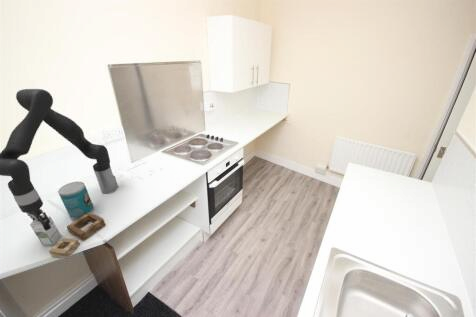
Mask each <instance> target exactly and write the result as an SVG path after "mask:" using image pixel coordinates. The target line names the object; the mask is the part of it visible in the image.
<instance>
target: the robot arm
mask: <svg viewBox="0 0 476 317" xmlns="http://www.w3.org/2000/svg"><path fill="white" fill-rule="evenodd" d="M15 98H16V101H17V103H18V104H19V106H21V108H23V109H24V110H26V111H27V113H26V115H25V117H24V118H23V119H22V120H21V121H20V122H19V123H18V124H17V125H16V126H15V127H14V129H12V131H11V133H10V134H9V138H8V140H7V143H6V145H5V147H4V148H3V149H2V151H1V152H0V177H1V176H3V177H11V180H9V181H8V183H7V186H8V189H9V191H10V192H11V194H12V197H13V199H14V201H15V203H16V204H17V206H18V208H19V210H20V211H21V212H22V213H25V214H27V216H28V217H30V219H32V221H33V220H34V219H36V221H37V222H40V223H41V225H42V226H43V228H44V229H45V230H46V231H47V230H49V229H50V228H51V226H50V225H49V223H50V220H49V218H48V217H47V216H48V215H47V213H46V212H45V211H43V209H41V208H42V207H43V205H44V203H43V202H44V201H43V200H42V198H41V196H40V195H39V193H38V190H37V189H36V188H35V187H34V184H33V183H32V181H31V174H30V173H31V172H30V168H29V165H28V164H27V162H25V161H24V160H22V159H20V158H19V157H22V156H24V155H25V156H26V155H28V153H29V152H30V149H31V146H32V144H33V141H34V138H35V136H36V133H37V132H38V130H39V128H40V127H41V125H42V124H43V122H44V123H45V124H47V125H48V126H49V127H50V128H51V129H52V130H54V131H55V132H57V134H59V135H60V136H61V137H63V138H64V140H66V141H68V142H69V143H71V144H72V145H73V146H74V147H76V148H77V150H79V151H80V152H81V153H82V154H83V155H84V156H85V157H86V158H88V159H91V160H95V161H96V162H95V163H94V164H93V165H92V169H93V171H94V175H95V177H96V179H97V182H98V186H99V188H100V192H101V193H102V194H105V195H106V194H107V195H108V194H112V193H115V192H116V191H117V189H118V188H119V185H118V181H117V178H116V175H114V174H113V171H112V167H111V159H110V156H109V152H108V148H107V147H106V146H105V145H103V144H95V143H92V142H90V141H89V140H88V139H87V138H86V137H85V133H84V130H83V129H82V128H81V126H79V124H77V123H76V122H75V121H74V120H73V119H71V118H70V117H68V116H66V115H64V114H61V113H59V112H58V111H56V110H54V109H52V106H53V104H54V98H53V96H52V94H51V93H50V91H48V90H45V89H41V88H25V89H24V88H23V89H20V90H18V91H17V92H16V94H15ZM38 218H39V219H38Z"/></svg>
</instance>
